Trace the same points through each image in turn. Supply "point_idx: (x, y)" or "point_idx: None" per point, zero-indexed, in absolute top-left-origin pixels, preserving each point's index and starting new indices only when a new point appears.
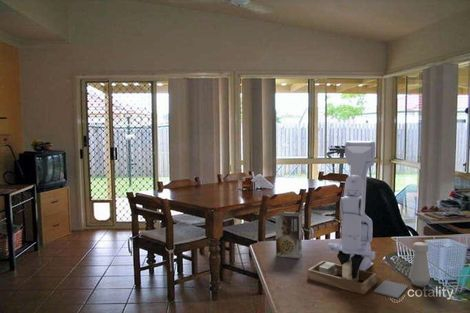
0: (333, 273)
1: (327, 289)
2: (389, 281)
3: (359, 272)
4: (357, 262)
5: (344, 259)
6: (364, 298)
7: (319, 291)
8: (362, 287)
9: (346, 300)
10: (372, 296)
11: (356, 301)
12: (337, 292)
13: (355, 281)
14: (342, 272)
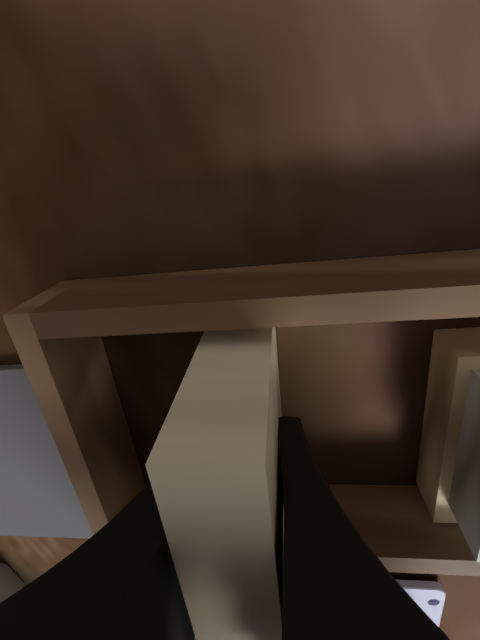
0: (436, 443)
1: (357, 143)
2: (81, 535)
3: None
4: (22, 592)
5: (282, 610)
6: (11, 219)
7: (415, 9)
8: (34, 301)
9: (70, 40)
10: (6, 297)
11: (4, 103)
12: (240, 154)
13: (103, 332)
14: (265, 377)
